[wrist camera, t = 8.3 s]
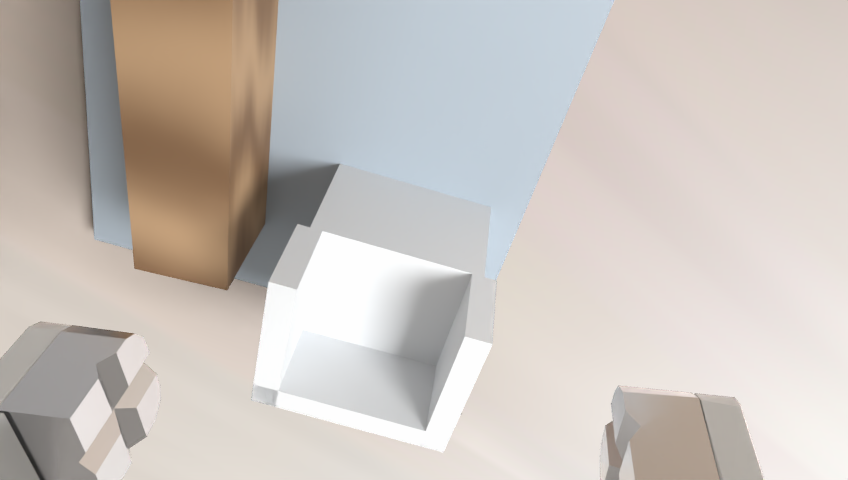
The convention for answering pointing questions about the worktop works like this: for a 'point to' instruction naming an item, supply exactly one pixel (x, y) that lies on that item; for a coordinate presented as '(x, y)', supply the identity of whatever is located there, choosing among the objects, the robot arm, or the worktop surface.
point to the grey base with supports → (382, 192)
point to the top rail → (195, 130)
